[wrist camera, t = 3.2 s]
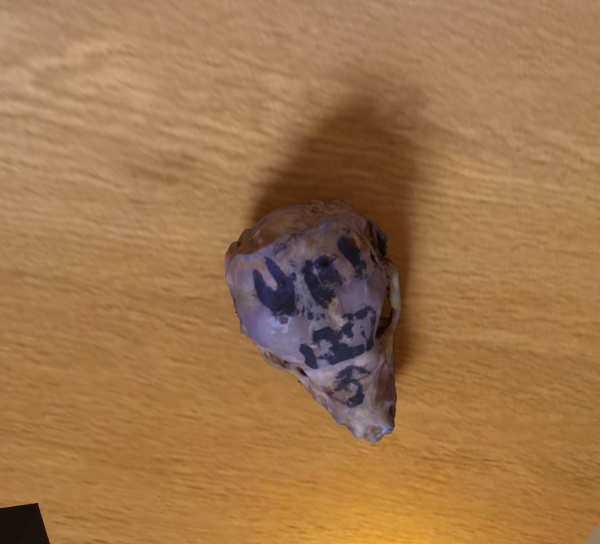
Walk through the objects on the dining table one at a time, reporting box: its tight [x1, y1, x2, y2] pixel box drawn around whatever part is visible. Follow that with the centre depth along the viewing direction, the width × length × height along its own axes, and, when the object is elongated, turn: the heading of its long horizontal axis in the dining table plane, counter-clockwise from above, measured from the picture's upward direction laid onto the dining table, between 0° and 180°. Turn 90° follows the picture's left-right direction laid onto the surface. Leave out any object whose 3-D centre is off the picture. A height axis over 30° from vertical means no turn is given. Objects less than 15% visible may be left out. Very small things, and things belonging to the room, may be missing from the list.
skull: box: [225, 200, 402, 442], centre depth 24 cm, size 12×8×6 cm, turn 14°
